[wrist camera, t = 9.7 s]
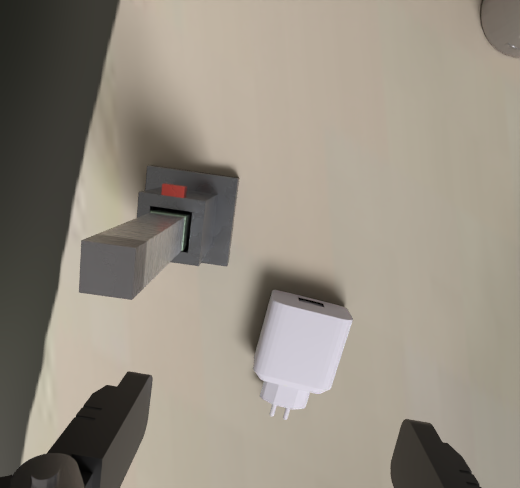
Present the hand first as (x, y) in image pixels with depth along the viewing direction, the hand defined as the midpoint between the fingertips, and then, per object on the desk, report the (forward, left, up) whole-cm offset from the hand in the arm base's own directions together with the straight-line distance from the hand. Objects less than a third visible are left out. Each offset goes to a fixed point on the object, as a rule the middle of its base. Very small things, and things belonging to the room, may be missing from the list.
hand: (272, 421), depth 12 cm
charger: (+14, +5, -34) cm, 37 cm away
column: (-1, -9, -27) cm, 28 cm away
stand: (-1, -9, -34) cm, 35 cm away
